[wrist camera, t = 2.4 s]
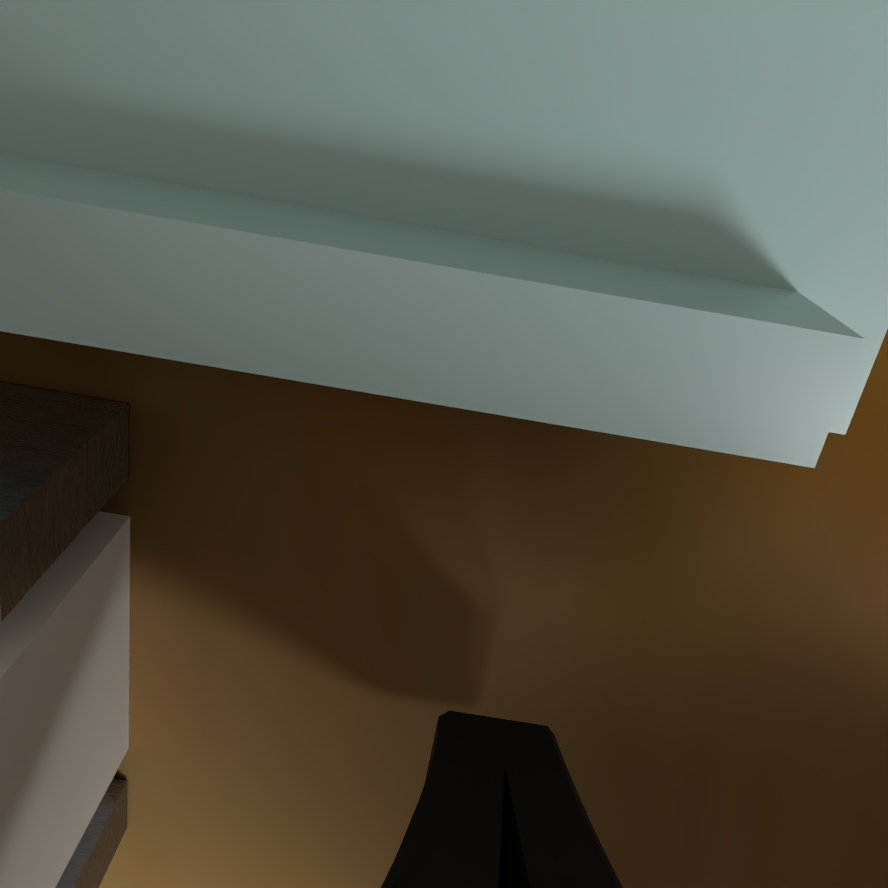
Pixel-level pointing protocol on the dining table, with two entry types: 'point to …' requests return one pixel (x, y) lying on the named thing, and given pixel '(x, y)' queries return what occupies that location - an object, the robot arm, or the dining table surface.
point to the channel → (60, 534)
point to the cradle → (465, 202)
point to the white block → (63, 702)
